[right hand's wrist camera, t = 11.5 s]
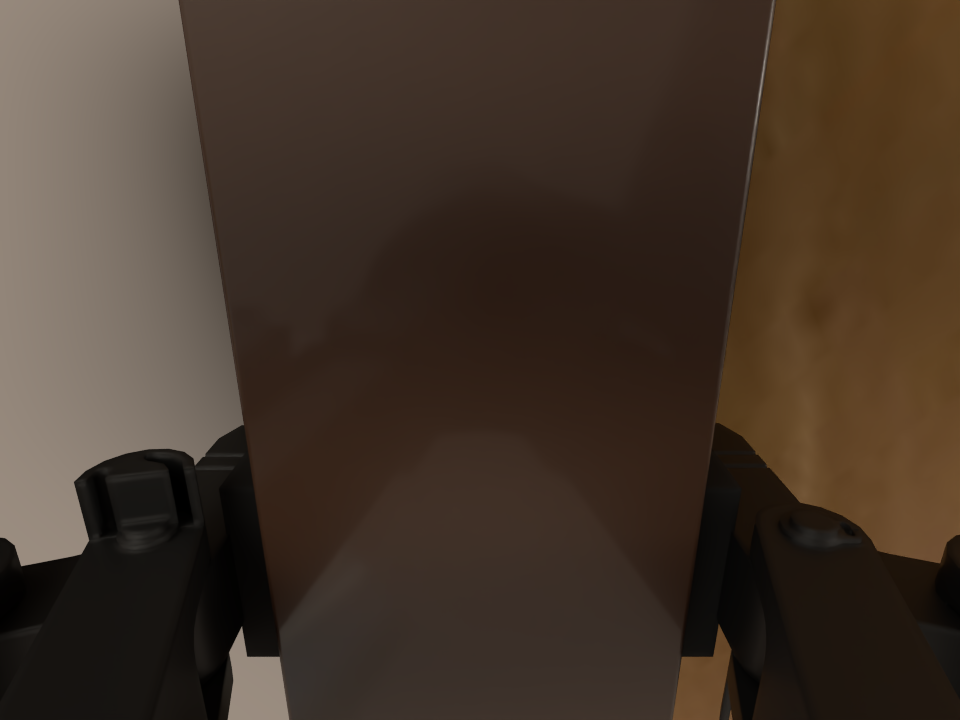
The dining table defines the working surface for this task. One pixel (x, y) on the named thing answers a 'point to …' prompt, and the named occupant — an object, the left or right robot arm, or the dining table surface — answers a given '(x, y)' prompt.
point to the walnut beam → (479, 333)
